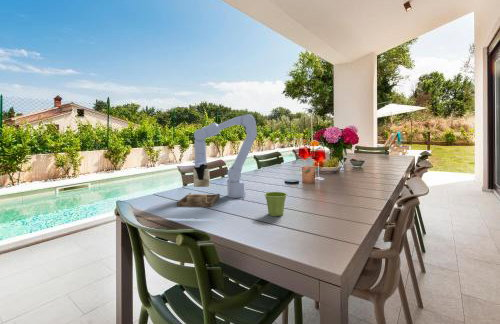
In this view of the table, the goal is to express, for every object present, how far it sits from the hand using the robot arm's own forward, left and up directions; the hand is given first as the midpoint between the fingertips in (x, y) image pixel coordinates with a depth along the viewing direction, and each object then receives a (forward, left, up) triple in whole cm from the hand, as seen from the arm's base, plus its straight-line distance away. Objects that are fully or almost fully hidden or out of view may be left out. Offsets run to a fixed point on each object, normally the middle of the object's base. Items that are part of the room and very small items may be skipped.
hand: (201, 179), depth 145 cm
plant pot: (-38, +24, -11) cm, 46 cm away
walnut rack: (-1, +9, -10) cm, 14 cm away
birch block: (0, 0, -4) cm, 4 cm away
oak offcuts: (-1, +14, -9) cm, 17 cm away
